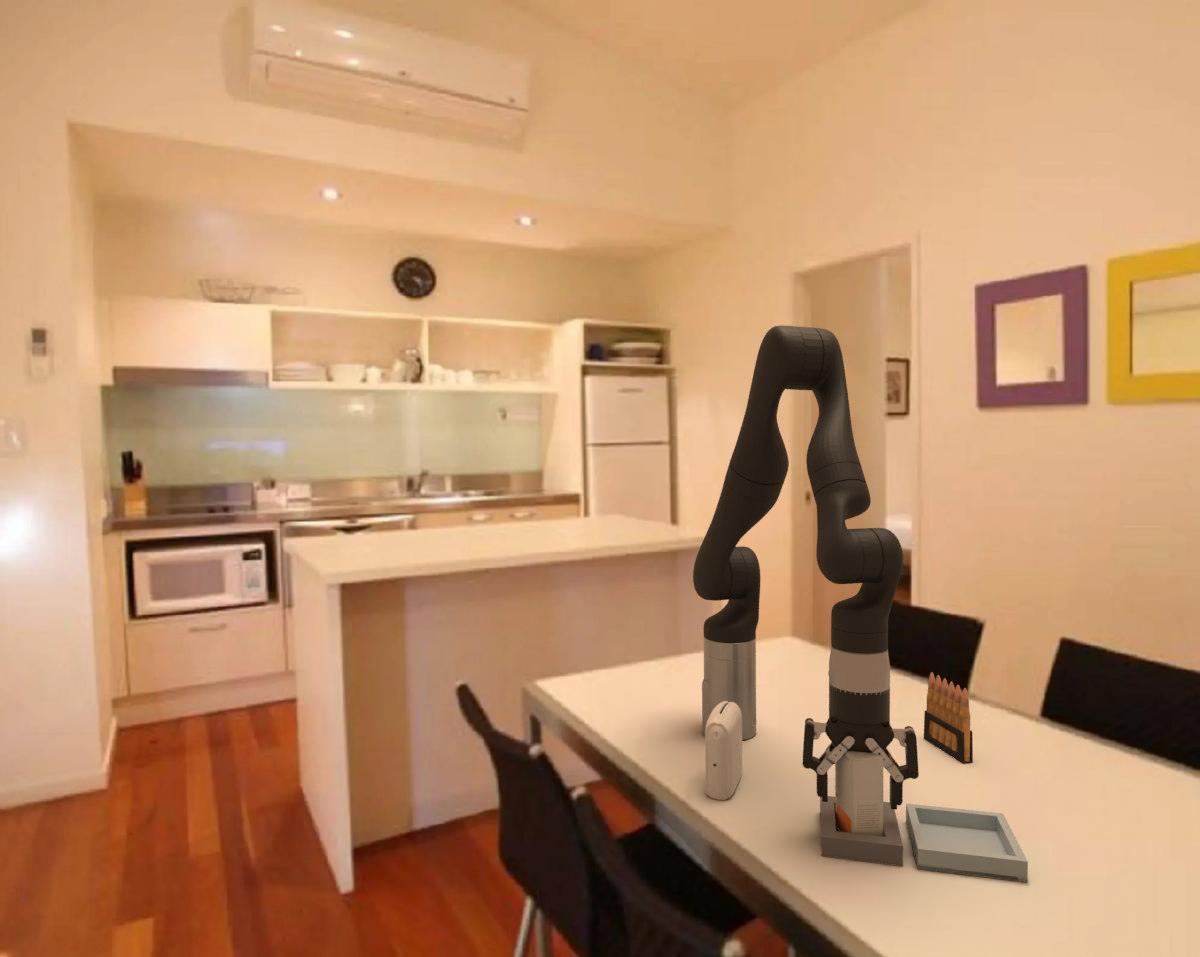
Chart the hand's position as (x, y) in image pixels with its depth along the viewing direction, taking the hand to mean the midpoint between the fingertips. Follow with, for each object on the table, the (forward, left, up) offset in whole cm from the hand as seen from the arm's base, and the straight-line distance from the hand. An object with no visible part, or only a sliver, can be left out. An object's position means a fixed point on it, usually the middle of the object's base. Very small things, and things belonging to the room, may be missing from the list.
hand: (858, 803), depth 101 cm
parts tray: (+12, 0, -5) cm, 13 cm away
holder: (0, 0, -5) cm, 5 cm away
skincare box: (0, 0, -5) cm, 5 cm away
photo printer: (-19, +11, -5) cm, 22 cm away
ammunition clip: (+16, +33, -5) cm, 37 cm away
